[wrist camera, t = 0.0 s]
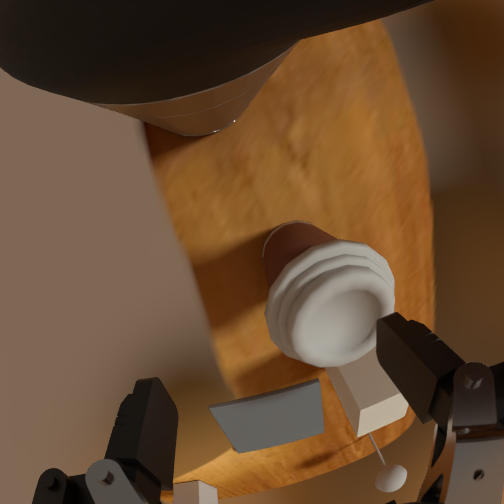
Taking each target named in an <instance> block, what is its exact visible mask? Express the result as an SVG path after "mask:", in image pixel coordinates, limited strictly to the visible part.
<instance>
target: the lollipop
mask: <svg viewBox="0 0 504 504" xmlns="http://www.w3.org/2000/svg"><path fill="white" fill-rule="evenodd" d="M368 435H369V437H370V439H371V441H372V443H373V445H374V447H375V449H376V451H377V453H378V455H379V457H380V459H381V461H382V463H383V466H384V468H383V469H382V470H381V471H380V472H379V473H378V474H377V477H376V487H377V488H378V489H379V490H381V491H383V492H392V491H395V490H397V489H399V488H400V487H401V486H402V485H403V483H404V482H405V480H406V476H407V471H406V470H405V469H404V468H403V467H402V466H400V465H389V466H386V464H385V462H384V460H383V458H382V456H381V454H380V452H379V450H378V448H377V446H376V444H375V442H374V440H373V438H372V436H371V434H370V433H369V434H368Z"/></svg>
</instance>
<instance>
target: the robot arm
mask: <svg viewBox="0 0 504 504" xmlns="http://www.w3.org/2000/svg"><path fill="white" fill-rule="evenodd" d="M431 1H434V0H0V68H2V69H3V70H4V71H5V72H7V73H8V74H10V75H11V76H12V77H13V78H15V79H17V80H19V81H21V82H24V83H26V84H28V85H30V86H33V87H36V88H39V89H42V90H45V91H48V92H51V93H55V94H59V95H63V96H66V97H70V98H73V99H77V100H80V101H84V102H87V103H90V104H93V105H97V106H100V107H103V108H106V109H109V110H113V111H116V112H119V113H122V114H125V115H128V116H131V117H133V118H136V119H139V120H142V121H144V122H147V123H150V124H152V125H155V126H158V127H160V128H163V129H165V130H168V131H171V132H173V133H176V134H180V135H184V136H204V135H210V134H213V133H215V132H218V131H221V130H223V129H224V128H226V127H228V126H229V125H231V124H232V123H233V122H234V121H235V120H236V119H238V118H239V117H240V115H241V114H242V113H243V112H244V110H245V109H246V108H247V107H248V105H249V104H250V103H251V101H252V100H253V99H254V97H255V96H256V95H257V93H258V92H259V91H260V89H261V88H262V87H263V86H264V84H265V83H266V82H267V81H268V79H269V78H270V77H271V75H272V74H273V73H274V72H275V70H276V69H277V68H278V67H279V66H280V64H281V63H282V61H283V60H284V59H285V58H286V57H287V55H288V54H289V53H290V52H291V51H292V49H293V48H294V47H295V46H296V45H297V44H298V42H299V41H300V40H301V39H305V38H309V37H313V36H317V35H321V34H325V33H328V32H332V31H336V30H340V29H344V28H348V27H351V26H355V25H359V24H363V23H366V22H369V21H373V20H376V19H380V18H383V17H387V16H389V15H392V14H395V13H398V12H401V11H404V10H408V9H411V8H414V7H416V6H419V5H422V4H425V3H428V2H431ZM376 355H377V359H378V362H379V364H380V365H381V367H382V368H383V370H384V371H385V372H386V374H387V375H388V376H389V378H390V379H391V380H392V382H393V383H394V384H395V386H396V387H397V389H398V390H399V391H400V393H401V394H402V395H403V397H404V398H405V400H406V401H407V402H408V404H409V405H410V407H411V408H412V409H413V411H414V412H415V414H416V415H417V416H418V417H419V419H420V421H421V422H422V423H423V424H424V423H426V422H428V421H430V420H431V419H434V420H435V422H436V426H435V431H434V438H433V445H432V450H431V456H430V461H429V465H428V469H427V473H426V476H425V478H424V481H423V483H422V485H421V488H420V491H419V494H418V497H417V501H416V502H410V503H405V504H501V500H502V493H503V484H504V362H501V363H499V364H496V365H494V366H490V367H488V366H486V365H485V364H483V363H480V362H468V363H466V362H464V361H463V360H462V359H461V358H460V357H459V356H458V355H457V354H456V353H455V352H454V351H453V350H452V349H450V348H449V347H448V346H447V345H446V344H445V343H444V342H443V341H442V340H439V338H438V337H437V336H436V335H435V334H433V333H432V331H431V330H429V329H428V328H427V327H426V326H425V325H424V324H422V323H419V322H417V321H414V320H409V321H407V320H406V319H405V318H404V317H402V316H401V315H400V314H399V313H398V312H394V313H392V314H389V315H387V316H384V317H382V318H379V319H378V320H377V323H376ZM117 416H118V417H117V418H116V420H115V426H114V427H113V430H112V433H111V437H110V440H109V444H108V447H107V451H106V455H105V458H104V459H102V460H98V461H96V462H95V463H93V464H92V465H91V466H90V467H89V468H88V470H87V472H86V474H81V475H76V476H69V477H68V476H67V475H66V474H64V473H63V472H62V471H61V470H59V469H57V468H51V469H48V470H46V471H45V472H43V474H42V475H41V476H40V478H39V480H38V484H37V487H36V490H35V494H34V498H33V502H32V504H165V502H164V501H163V500H162V499H161V498H160V494H161V490H172V489H173V473H174V460H175V449H176V448H175V447H176V438H177V428H178V411H177V408H176V405H175V403H174V402H173V400H172V398H171V397H170V395H169V394H168V392H167V390H166V389H165V387H164V385H163V384H162V382H161V381H160V379H159V378H158V377H153V378H147V379H139V380H137V381H136V384H135V387H134V390H133V394H128V395H127V397H126V398H125V399H124V401H123V402H122V403H121V405H120V408H119V411H118V414H117ZM386 504H396V502H395V500H393V501H390V502H388V503H386Z"/></svg>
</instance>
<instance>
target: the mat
mask: <svg viewBox="0 0 504 504" xmlns="http://www.w3.org/2000/svg"><path fill="white" fill-rule="evenodd" d="M209 409H210V411H211V413H212V414H213V416H214V418H215V419H216V421H217V422H218V424H219V425H220V427H221V429H222V430H223V432H224V433H225V435H226V436H227V438H228V439H229V440H230V442H231V444H232V445H233V447H234V448H235V449H236V451H237V452H238V453H244V452H250V451H255V450H260V449H264V448H269V447H273V446H278V445H282V444H286V443H290V442H294V441H297V440H301V439H304V438H308V437H311V436H314V435H318V434H321V433H324V422H323V410H322V400H321V389H320V381H319V379H315V380H312V381H308V382H305V383H302V384H298V385H295V386H292V387H288V388H284V389H281V390H277V391H273V392H269V393H265V394H261V395H257V396H253V397H248V398H244V399H239V400H234V401H229V402H224V403H218V404H213V405H209Z"/></svg>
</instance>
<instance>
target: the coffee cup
mask: <svg viewBox="0 0 504 504" xmlns="http://www.w3.org/2000/svg"><path fill="white" fill-rule="evenodd" d="M262 259H263V263H264V268H265V271H266V276H267V280H268V285H269V295H268V299H267V304H266V308H265V313H264V314H265V318H266V322H267V326H268V330H269V334H270V337H271V340H272V341H273V343H274V344H275V345H276V346H277V347H278V348H279V349H280V350H281V351H282V352H283V353H284V354H285V355H286V356H288V357H291V358H294V359H297V360H300V361H302V362H305V363H308V364H310V365H313V366H316V367H338V366H341V365H344V364H347V363H350V362H352V361H355V360H357V359H359V358H360V357H362V356H363V355H364V354H366V353H367V352H369V351H370V350H372V349H373V348H374V347H375V346H376V323H377V320H378V319H379V318H382V317H384V316H387V315H389V314H392V313H394V303H395V297H394V277H393V275H392V272H391V270H390V268H389V265H388V263H387V261H386V259H385V258H383V257H382V256H381V255H379V254H378V253H377V252H376V251H374V250H373V249H372V248H370V247H369V246H368V245H366V244H365V243H362V242H355V241H349V240H342V239H337V238H335V237H333V236H331V235H330V234H328V233H326V232H324V231H322V230H321V229H319V228H317V227H315V226H314V225H312V224H311V223H309V222H304V221H297V220H295V221H291V222H287V223H283V224H282V225H280V226H279V227H277V228H276V229H275V230H273V231H272V232H271V233H270V235H269V236H268V238H267V239H266V241H265V242H264V247H263V252H262Z"/></svg>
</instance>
